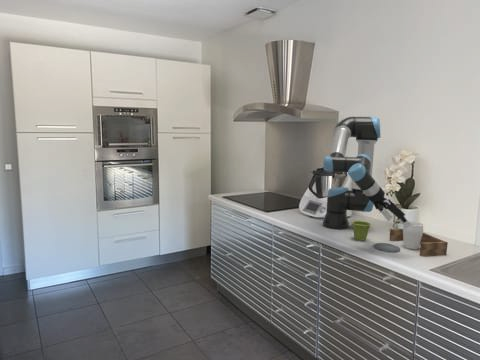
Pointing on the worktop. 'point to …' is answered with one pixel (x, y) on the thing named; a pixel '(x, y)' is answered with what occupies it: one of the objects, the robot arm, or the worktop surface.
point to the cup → (412, 235)
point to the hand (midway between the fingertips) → (398, 222)
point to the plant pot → (360, 230)
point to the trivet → (386, 247)
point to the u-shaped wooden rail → (423, 243)
